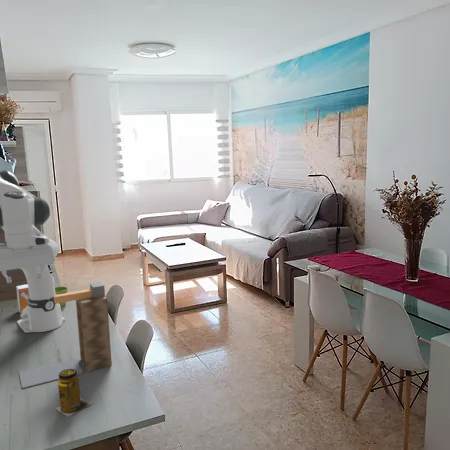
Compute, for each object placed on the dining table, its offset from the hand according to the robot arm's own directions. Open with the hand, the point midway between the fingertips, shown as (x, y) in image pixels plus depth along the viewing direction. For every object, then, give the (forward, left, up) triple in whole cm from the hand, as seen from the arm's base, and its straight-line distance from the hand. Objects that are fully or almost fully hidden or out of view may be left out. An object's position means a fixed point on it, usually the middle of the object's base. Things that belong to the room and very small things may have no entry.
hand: (24, 280), depth 151 cm
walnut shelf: (+8, +20, -36) cm, 41 cm away
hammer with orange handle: (+6, +16, -10) cm, 20 cm away
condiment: (+28, -1, -36) cm, 45 cm away
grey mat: (+2, +5, -36) cm, 36 cm away
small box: (-65, +29, -36) cm, 80 cm away
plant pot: (-61, +43, -36) cm, 82 cm away
